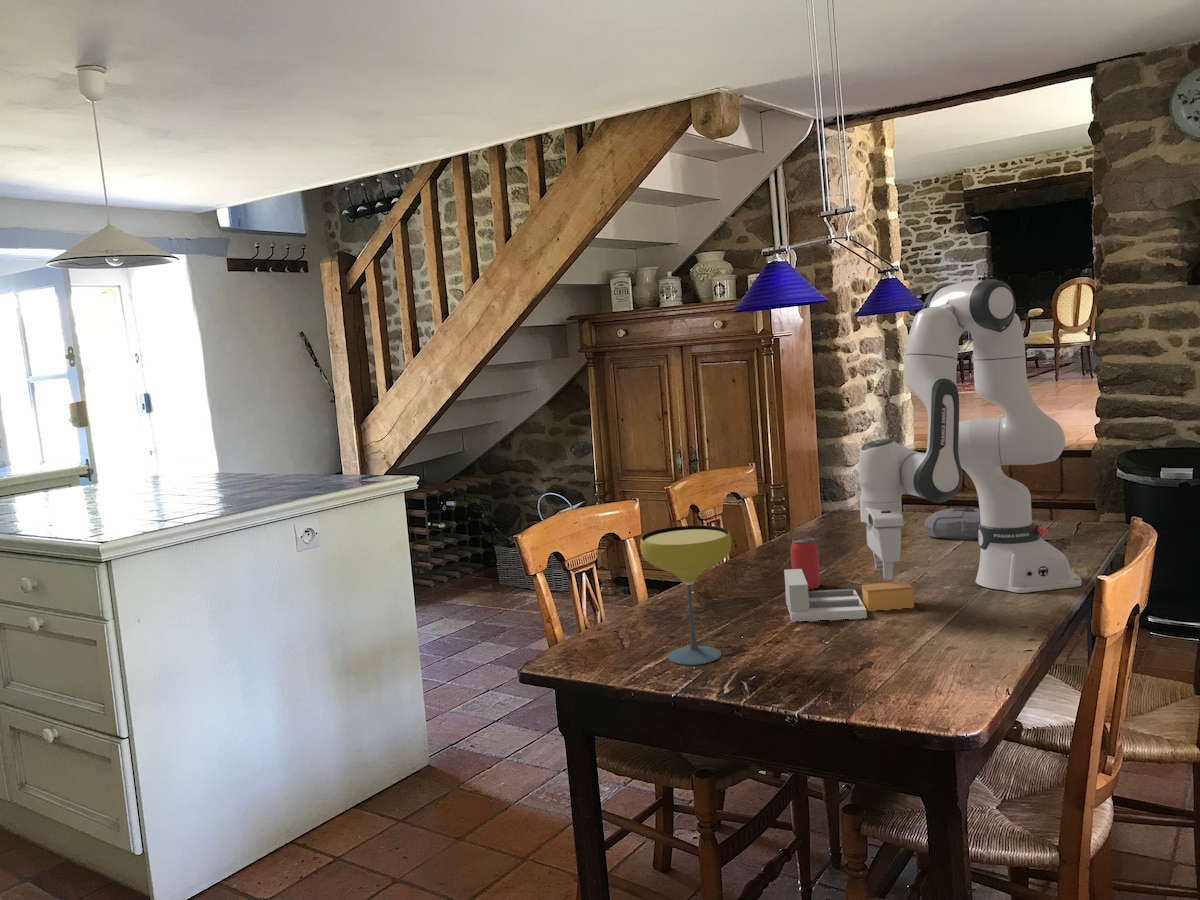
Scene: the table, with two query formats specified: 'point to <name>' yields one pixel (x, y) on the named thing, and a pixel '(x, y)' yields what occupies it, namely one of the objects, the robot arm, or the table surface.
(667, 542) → the cocktail glass
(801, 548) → the beer can
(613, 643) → the table surface
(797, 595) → the white l-shaped stand
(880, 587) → the cardboard box
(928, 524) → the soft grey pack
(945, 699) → the table surface
